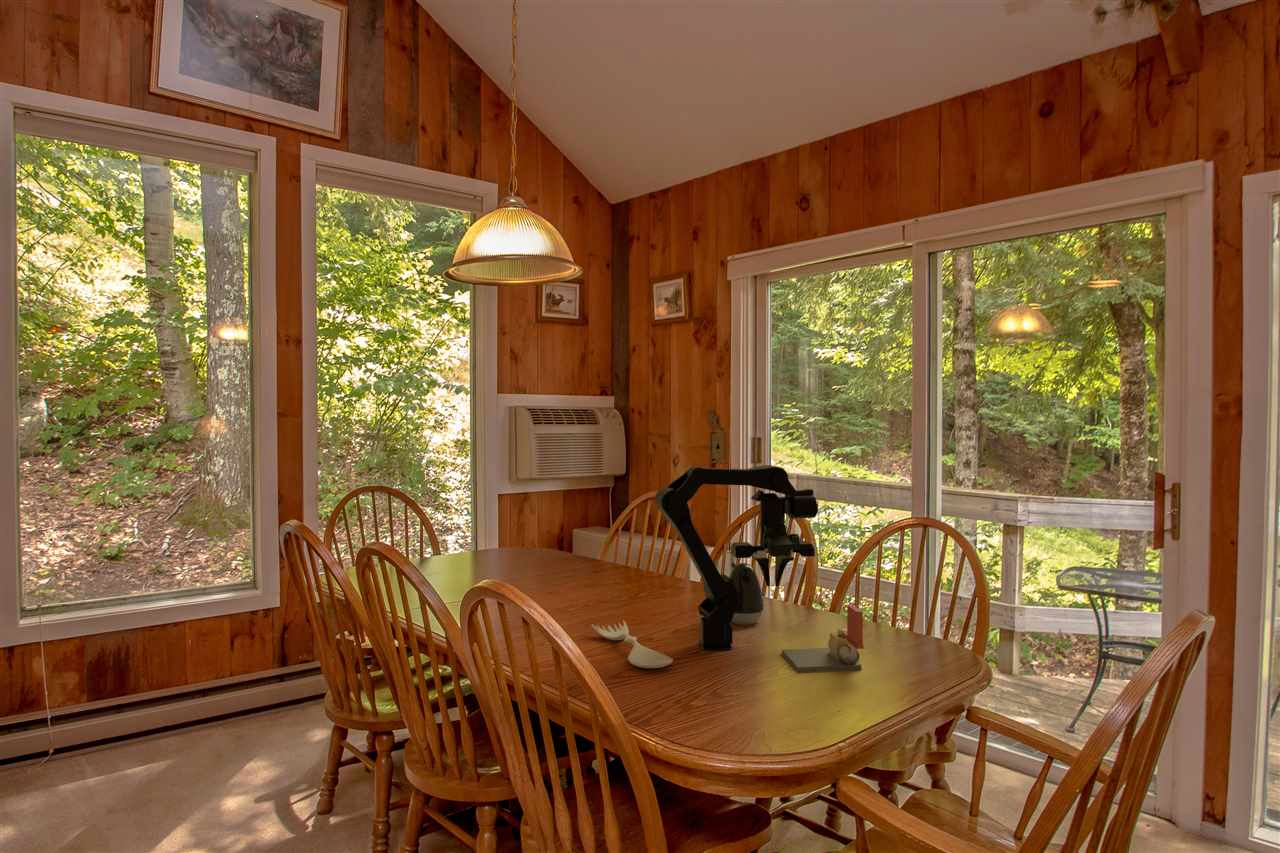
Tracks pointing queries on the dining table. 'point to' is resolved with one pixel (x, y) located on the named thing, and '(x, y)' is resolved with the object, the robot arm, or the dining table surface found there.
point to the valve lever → (853, 627)
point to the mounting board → (815, 660)
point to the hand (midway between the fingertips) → (772, 586)
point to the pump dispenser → (747, 594)
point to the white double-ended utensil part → (635, 648)
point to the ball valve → (842, 649)
